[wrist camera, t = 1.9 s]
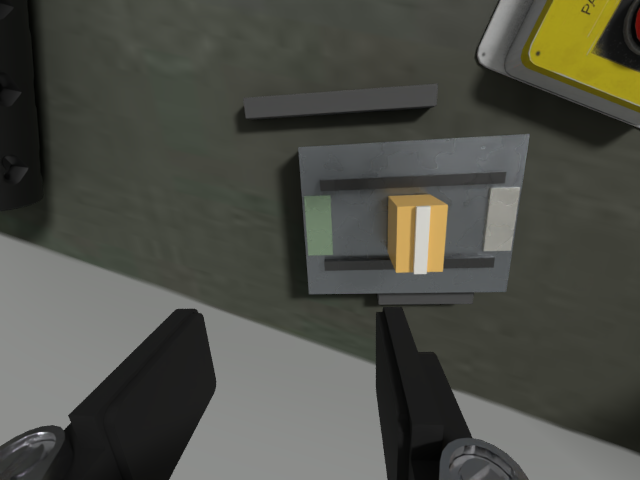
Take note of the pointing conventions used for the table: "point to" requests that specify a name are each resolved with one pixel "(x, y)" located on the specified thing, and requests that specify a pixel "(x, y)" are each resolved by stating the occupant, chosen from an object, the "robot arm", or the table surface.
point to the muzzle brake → (17, 111)
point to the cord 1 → (341, 102)
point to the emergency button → (570, 51)
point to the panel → (411, 179)
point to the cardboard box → (416, 233)
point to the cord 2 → (425, 298)
